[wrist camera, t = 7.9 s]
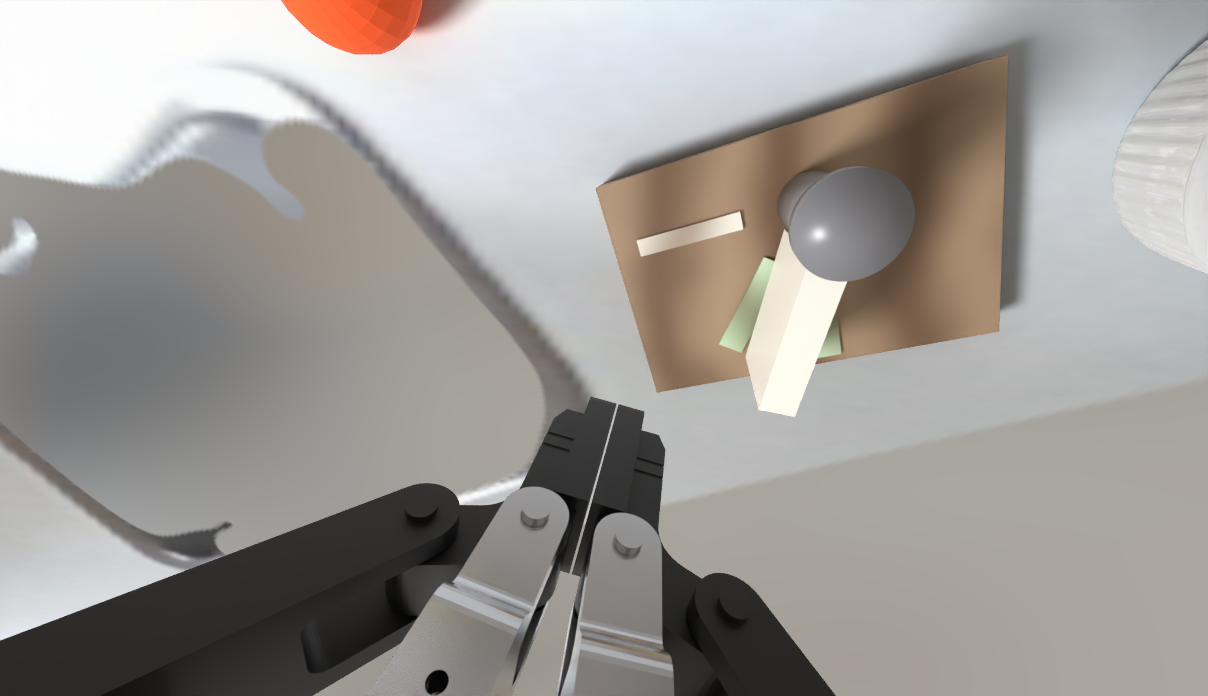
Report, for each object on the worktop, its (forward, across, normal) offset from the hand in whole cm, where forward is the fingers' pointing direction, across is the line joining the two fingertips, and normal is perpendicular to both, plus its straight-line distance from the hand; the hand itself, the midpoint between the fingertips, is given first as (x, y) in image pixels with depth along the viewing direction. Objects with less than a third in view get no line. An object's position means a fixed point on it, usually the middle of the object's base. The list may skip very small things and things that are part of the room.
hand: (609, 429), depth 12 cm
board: (+19, -8, -2) cm, 20 cm away
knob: (+17, -7, -2) cm, 18 cm away
